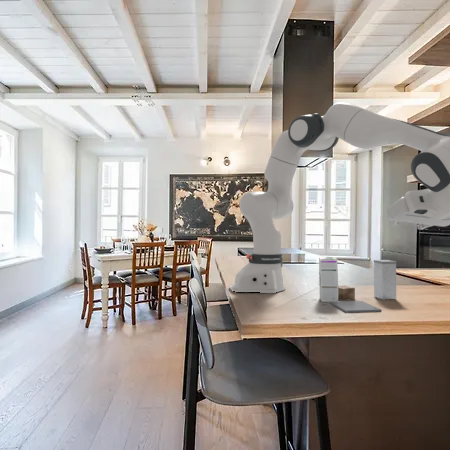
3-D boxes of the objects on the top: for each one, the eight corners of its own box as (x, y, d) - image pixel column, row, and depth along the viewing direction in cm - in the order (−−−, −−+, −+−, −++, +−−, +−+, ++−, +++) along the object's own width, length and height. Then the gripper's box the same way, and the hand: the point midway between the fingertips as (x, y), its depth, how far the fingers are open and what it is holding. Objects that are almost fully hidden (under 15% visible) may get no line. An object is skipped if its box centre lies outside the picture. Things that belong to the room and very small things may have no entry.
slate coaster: (345, 312, 94) (345, 310, 94) (329, 303, 105) (329, 301, 105) (381, 311, 95) (381, 309, 95) (361, 302, 106) (361, 300, 106)
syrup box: (338, 302, 107) (338, 258, 107) (320, 302, 108) (320, 258, 108) (336, 298, 112) (336, 257, 112) (318, 298, 113) (318, 256, 113)
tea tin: (382, 300, 110) (382, 261, 110) (373, 296, 115) (373, 260, 115) (396, 299, 111) (396, 261, 111) (387, 296, 116) (387, 259, 116)
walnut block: (343, 300, 110) (343, 288, 110) (333, 297, 115) (333, 286, 115) (354, 299, 112) (354, 287, 112) (345, 296, 117) (344, 285, 117)
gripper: (465, 198, 96) (432, 221, 108) (402, 190, 93) (375, 214, 105) (472, 217, 93) (437, 237, 105) (408, 208, 90) (379, 231, 102)
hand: (406, 225), depth 105 cm, fingers open, 8 cm apart
